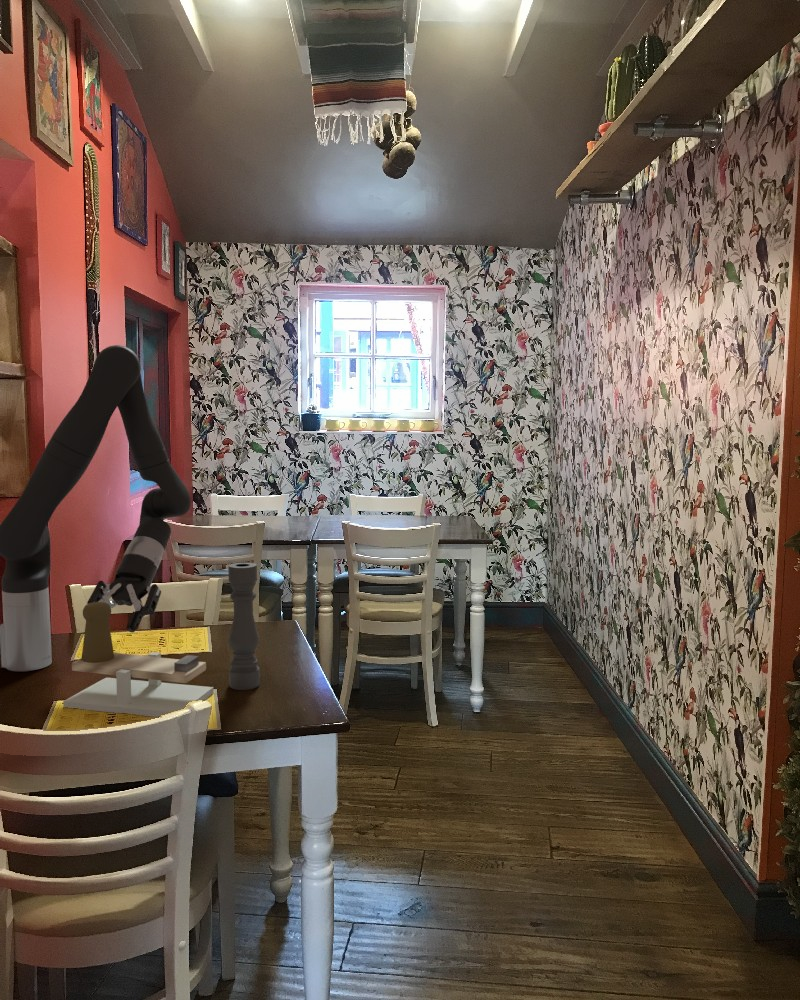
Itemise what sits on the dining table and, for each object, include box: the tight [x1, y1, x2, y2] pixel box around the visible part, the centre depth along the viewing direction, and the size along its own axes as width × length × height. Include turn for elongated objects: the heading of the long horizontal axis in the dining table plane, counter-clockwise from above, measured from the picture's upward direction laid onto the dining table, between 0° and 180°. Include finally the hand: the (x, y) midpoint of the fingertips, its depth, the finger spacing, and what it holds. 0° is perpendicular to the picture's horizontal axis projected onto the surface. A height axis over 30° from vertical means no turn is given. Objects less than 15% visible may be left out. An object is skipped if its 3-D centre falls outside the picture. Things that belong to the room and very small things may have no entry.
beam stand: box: [62, 651, 214, 718], centre depth 154 cm, size 24×14×8 cm, turn 77°
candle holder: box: [227, 562, 261, 691], centre depth 162 cm, size 6×6×25 cm
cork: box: [80, 602, 115, 663], centre depth 155 cm, size 6×6×11 cm
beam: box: [71, 652, 207, 684], centre depth 154 cm, size 24×8×4 cm, turn 77°
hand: (111, 629), depth 160 cm, fingers open, 8 cm apart
